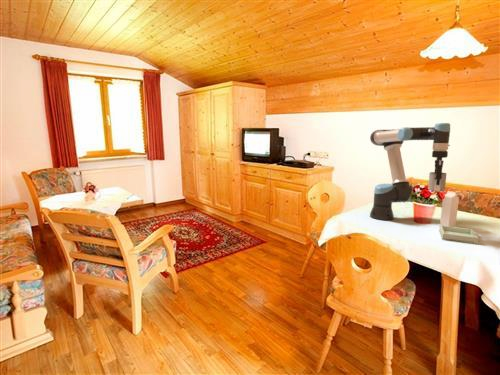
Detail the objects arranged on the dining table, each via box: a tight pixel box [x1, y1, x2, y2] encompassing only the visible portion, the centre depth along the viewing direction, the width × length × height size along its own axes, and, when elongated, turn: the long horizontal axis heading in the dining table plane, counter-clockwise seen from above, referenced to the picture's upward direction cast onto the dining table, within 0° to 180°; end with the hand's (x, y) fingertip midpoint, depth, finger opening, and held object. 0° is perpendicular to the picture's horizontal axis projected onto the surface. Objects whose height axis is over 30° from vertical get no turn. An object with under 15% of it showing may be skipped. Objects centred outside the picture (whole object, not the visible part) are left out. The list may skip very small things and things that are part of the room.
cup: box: [427, 171, 447, 192], centre depth 172 cm, size 8×8×10 cm
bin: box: [438, 224, 479, 245], centre depth 167 cm, size 16×16×4 cm
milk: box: [439, 190, 460, 227], centre depth 186 cm, size 6×6×22 cm
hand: (436, 189), depth 173 cm, fingers closed on cup, 8 cm apart
